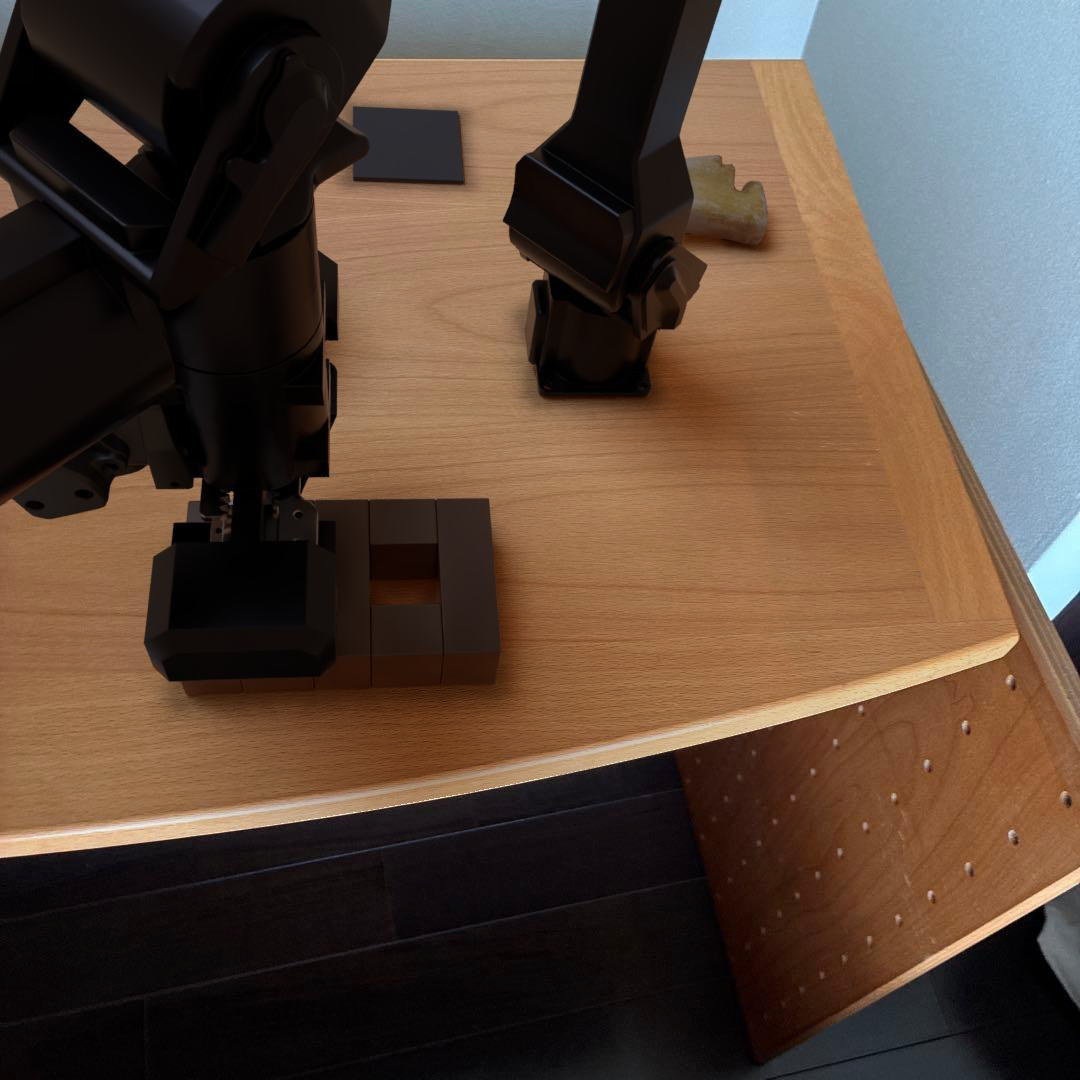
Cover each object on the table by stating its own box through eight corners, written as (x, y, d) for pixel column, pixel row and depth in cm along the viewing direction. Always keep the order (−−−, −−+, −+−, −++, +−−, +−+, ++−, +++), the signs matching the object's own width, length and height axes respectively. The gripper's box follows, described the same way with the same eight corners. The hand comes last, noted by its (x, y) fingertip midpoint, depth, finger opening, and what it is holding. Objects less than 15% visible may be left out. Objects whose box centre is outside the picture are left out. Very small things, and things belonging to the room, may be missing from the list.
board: (483, 535, 57) (489, 497, 54) (495, 685, 52) (501, 652, 49) (198, 539, 54) (187, 499, 52) (185, 695, 50) (172, 661, 47)
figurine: (755, 156, 72) (535, 117, 68) (786, 179, 68) (551, 138, 64) (732, 234, 75) (519, 200, 71) (760, 260, 70) (534, 226, 66)
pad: (457, 114, 74) (458, 110, 74) (463, 184, 71) (463, 180, 70) (352, 109, 73) (352, 106, 73) (353, 180, 70) (352, 176, 69)
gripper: (14, 112, 39) (107, 393, 52) (-96, 558, 30) (52, 767, 43) (331, 125, 41) (344, 394, 54) (326, 551, 31) (343, 754, 44)
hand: (273, 557), depth 49 cm, fingers closed on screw, 4 cm apart
